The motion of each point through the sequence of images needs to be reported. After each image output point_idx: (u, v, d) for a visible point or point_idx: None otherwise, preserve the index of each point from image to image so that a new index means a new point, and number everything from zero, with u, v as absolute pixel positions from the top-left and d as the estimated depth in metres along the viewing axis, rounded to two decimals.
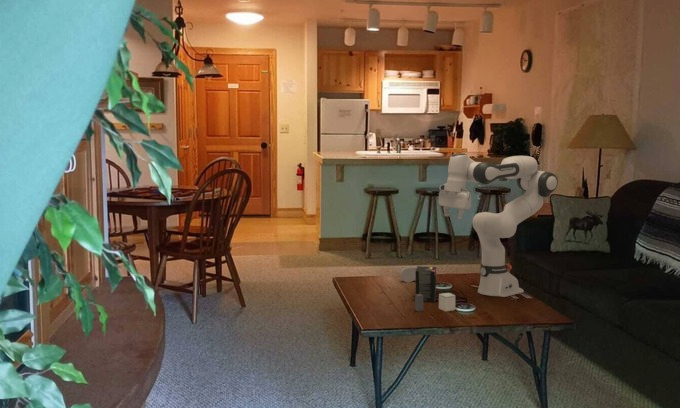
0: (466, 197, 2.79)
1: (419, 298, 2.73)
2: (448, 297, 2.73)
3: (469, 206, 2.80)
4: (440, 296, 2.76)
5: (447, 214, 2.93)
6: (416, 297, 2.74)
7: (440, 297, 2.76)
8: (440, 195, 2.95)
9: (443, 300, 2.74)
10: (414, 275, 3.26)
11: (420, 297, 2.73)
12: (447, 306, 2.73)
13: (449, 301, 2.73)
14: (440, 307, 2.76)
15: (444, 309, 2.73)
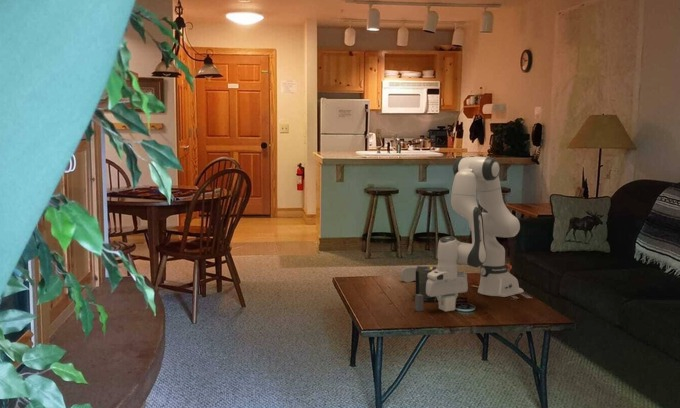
0: None
1: (419, 298, 2.73)
2: (448, 297, 2.73)
3: None
4: None
5: None
6: (416, 297, 2.74)
7: None
8: (434, 286, 2.70)
9: (443, 300, 2.74)
10: (414, 275, 3.26)
11: (420, 297, 2.73)
12: (447, 306, 2.73)
13: (449, 301, 2.73)
14: (440, 307, 2.76)
15: (444, 309, 2.73)
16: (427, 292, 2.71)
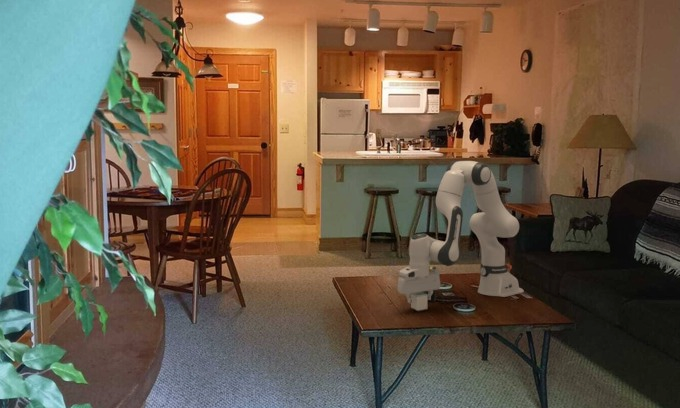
0: None
1: None
2: (420, 296, 2.71)
3: None
4: (412, 295, 2.74)
5: None
6: None
7: (412, 296, 2.74)
8: (405, 283, 2.68)
9: (415, 299, 2.72)
10: None
11: None
12: (419, 305, 2.72)
13: (421, 300, 2.72)
14: (412, 306, 2.75)
15: (416, 308, 2.72)
16: (399, 289, 2.70)
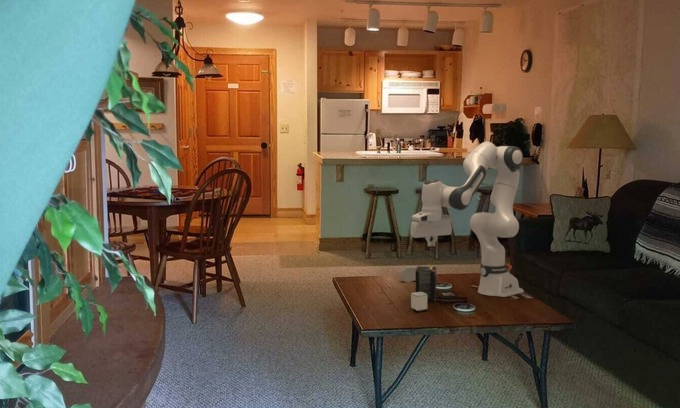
0: None
1: None
2: (420, 296, 2.71)
3: None
4: (412, 295, 2.74)
5: None
6: None
7: (412, 296, 2.74)
8: (418, 227, 2.75)
9: (415, 299, 2.72)
10: (414, 275, 3.26)
11: None
12: (419, 305, 2.72)
13: (421, 300, 2.72)
14: (412, 306, 2.75)
15: (416, 308, 2.72)
16: (411, 233, 2.77)
